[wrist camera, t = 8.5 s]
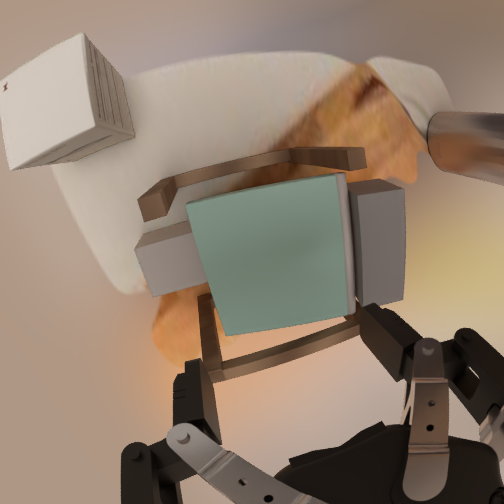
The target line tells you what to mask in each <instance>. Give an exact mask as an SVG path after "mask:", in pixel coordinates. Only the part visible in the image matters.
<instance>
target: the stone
mask: <svg viewBox="0 0 504 504" xmlns="http://www.w3.org/2000/svg"><path fill="white" fill-rule="evenodd" d="M134 250H135V253H136V256H137V259H138V261H139V264H140V267H141V269H142V272H143V274H144V277H145V279H146V282H147V284H148V287H149V289H150V292H151V294H152V296H153V297H156V296H160V295H164V294H168V293H171V292H175V291H179V290H182V289H186V288H190V287H193V286H197V285H200V284H204V283H208V281H207V278H206V274H205V271H204V268H203V265H202V261H201V258H200V255H199V252H198V248H197V245H196V242H195V238H194V235H193V231H192V228H191V224H190V221H186V222H182V223H179V224H175V225H172V226H169V227H165V228H162V229H158V230H155V231H152V232H149V233H145V234H143V235H142V237H141V239H140V240H139V242H138V244H137V245H136V247H135V249H134Z"/></svg>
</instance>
